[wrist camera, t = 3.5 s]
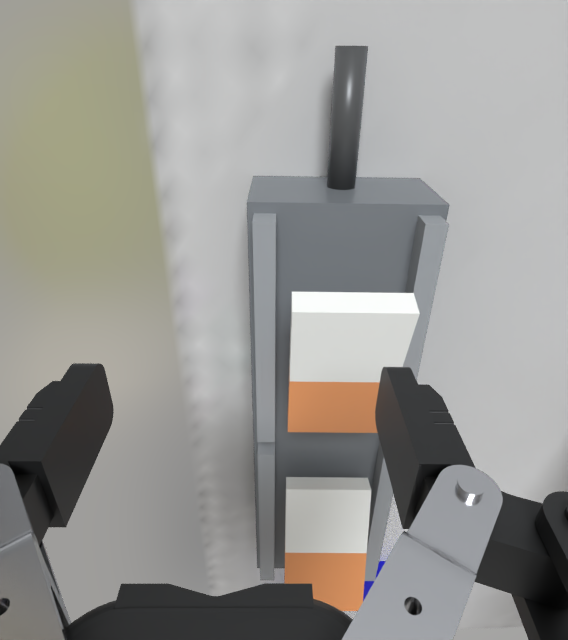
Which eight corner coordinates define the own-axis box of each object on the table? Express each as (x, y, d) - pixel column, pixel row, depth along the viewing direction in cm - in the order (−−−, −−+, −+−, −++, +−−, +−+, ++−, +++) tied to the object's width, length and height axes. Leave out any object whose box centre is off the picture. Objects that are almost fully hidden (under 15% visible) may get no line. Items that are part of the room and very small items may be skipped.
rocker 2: (286, 476, 27) (286, 489, 26) (367, 477, 27) (371, 490, 26) (284, 594, 30) (284, 610, 29) (359, 594, 30) (362, 610, 29)
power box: (250, 45, 21) (239, 41, 16) (441, 48, 21) (494, 45, 16) (260, 510, 38) (256, 583, 33) (364, 511, 38) (378, 584, 33)
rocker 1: (291, 291, 18) (292, 312, 17) (413, 292, 18) (419, 313, 18) (287, 412, 25) (287, 432, 24) (377, 413, 25) (381, 432, 24)
